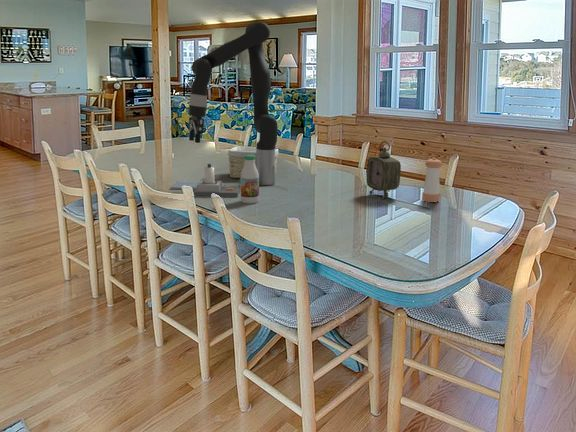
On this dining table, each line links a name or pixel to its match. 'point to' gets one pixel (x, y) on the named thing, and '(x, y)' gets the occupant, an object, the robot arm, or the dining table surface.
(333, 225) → the dining table surface
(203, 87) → the robot arm
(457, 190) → the dining table surface
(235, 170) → the storage basket
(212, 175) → the plug
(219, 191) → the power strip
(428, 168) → the pepper shaker
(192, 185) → the slate pad
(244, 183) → the milk bottle
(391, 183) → the tabletop clock
